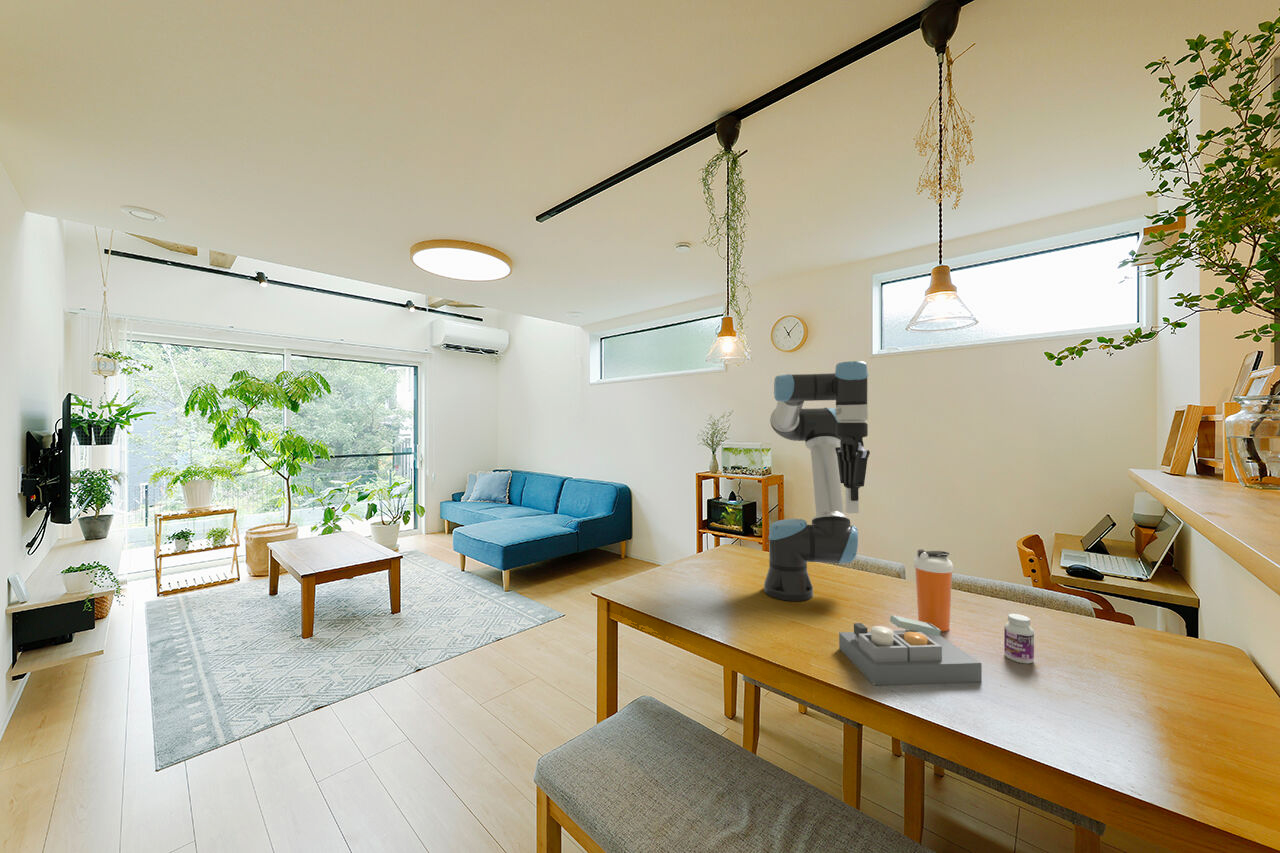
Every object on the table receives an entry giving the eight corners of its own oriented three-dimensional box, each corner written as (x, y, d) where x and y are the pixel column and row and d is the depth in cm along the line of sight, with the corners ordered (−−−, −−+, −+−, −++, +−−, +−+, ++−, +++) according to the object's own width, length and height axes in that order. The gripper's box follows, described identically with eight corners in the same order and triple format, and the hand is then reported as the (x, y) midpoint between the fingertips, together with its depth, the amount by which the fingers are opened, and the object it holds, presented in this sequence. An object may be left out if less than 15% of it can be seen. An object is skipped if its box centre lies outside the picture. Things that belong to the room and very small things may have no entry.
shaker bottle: (960, 634, 121) (959, 557, 121) (921, 631, 123) (921, 555, 123) (944, 620, 130) (944, 548, 130) (909, 618, 131) (908, 546, 131)
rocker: (889, 620, 112) (891, 614, 112) (929, 629, 112) (931, 622, 112) (898, 627, 108) (899, 620, 108) (939, 636, 109) (941, 629, 109)
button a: (867, 639, 105) (867, 626, 105) (886, 639, 105) (886, 625, 105) (877, 649, 101) (877, 635, 101) (897, 648, 101) (897, 634, 101)
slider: (853, 633, 111) (853, 623, 111) (861, 633, 111) (861, 623, 111) (859, 638, 108) (859, 628, 108) (867, 638, 108) (867, 628, 108)
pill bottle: (1003, 659, 108) (1003, 617, 108) (1005, 650, 112) (1004, 610, 112) (1034, 666, 105) (1033, 623, 105) (1034, 657, 109) (1034, 616, 109)
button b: (900, 645, 106) (899, 631, 106) (919, 644, 106) (918, 631, 106) (912, 654, 101) (911, 640, 101) (931, 654, 101) (931, 640, 101)
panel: (839, 648, 114) (839, 620, 114) (931, 646, 115) (931, 617, 115) (874, 685, 98) (874, 651, 98) (981, 681, 99) (981, 648, 99)
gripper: (825, 421, 128) (826, 508, 128) (850, 422, 115) (851, 518, 115) (852, 421, 128) (852, 507, 129) (880, 421, 115) (880, 517, 116)
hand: (852, 512), depth 122 cm, fingers closed
